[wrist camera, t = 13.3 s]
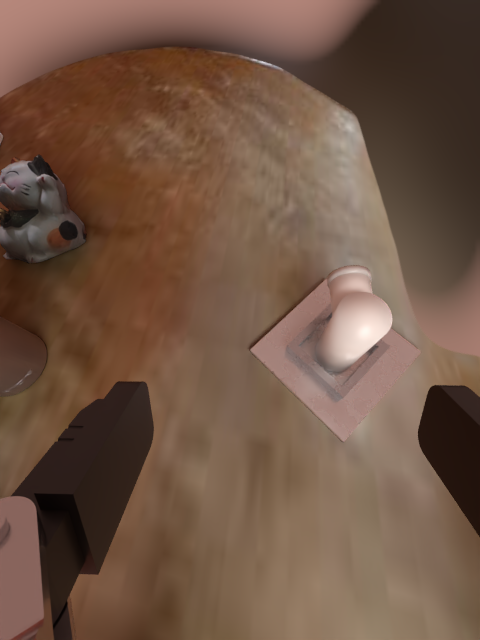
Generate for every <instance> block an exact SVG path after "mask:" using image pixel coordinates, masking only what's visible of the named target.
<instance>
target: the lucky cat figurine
mask: <svg viewBox="0 0 480 640" xmlns="http://www.w3.org/2000/svg"><path fill="white" fill-rule="evenodd" d="M1 172H2V173H1V175H0V202H1V203H2V204H3V205H4V206H5V207H7V208H8V209H9V211H8V212H7V211H5V210H4V209H2V208H0V220H1V221H0V224H1V227H0V244H1V245H2V247H3V248H4V249H5V250H6V253H5V255H3V257H5V258H6V259H17V260H22V261H24V262H27V263H39V262H41V261H45V260H48V259H50V258H53V257H55V256H57V255H60V254H62V253H64V252H66V251H69V250H72V249H75V248H77V247H79V246H80V245H82V244H83V243H85V242H86V239H85V237H86V229H85V226H84V223H83V222H82V221H81V220H80V218H79V217H78V216H77V215H76V213H74V212H73V211H72V210H71V208H70V206H69V204H68V200H67V192H66V189H65V186H64V184H63V183H62V182H61V181H60V179H59V178H58V176H57V175H56V174H54V173H53V171H52V169H51V168H50V166H49V164H48V163H46V162H45V161H44V159H43V158H42V156H41V155H37V156H36V157H34V160H33V161H24V160H20V159H18V158H16V157H13V158H12V162H11V164H10V165H8V166H7V167H6V168H4V169H2V170H1Z"/></svg>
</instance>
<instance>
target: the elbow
mask: <svg viewBox="0 0 480 640" xmlns="http://www.w3.org/2000/svg"><path fill="white" fill-rule="evenodd" d="M327 284H328V288H329V290H330V300H331V309H332V317H331V319H330V321H329V323H328V325H327V326H326V328H325V330H324V332H323V333H322V335H321V337H320V339H319V341H318V342H317V344H316V347H315V355H316V358H317V360H318V362H319V363H320V364H321V365H322V366H323V367H324V368H325V369H327V370H330V371H333V372H341V371H344V370H346V369H348V368H349V367H350V366H351V365H352V364H354V363H355V362H356V361H357V360H358V359H359V358H360V357H361V356H362V355H363V354H365V353H366V352H367V351H368V350H369V349H370V348H371V347H372V346H373V345H374V344H376V343H377V342H378V341H379V340H380V339H381V338H382V337H383V336H384V335H385V334H387V332H388V331H389V330H390V328H391V325H392V314H391V311H390V309H389V307H388V305H387V304H386V303H385V302H384V301H383V300H382V299H381V298H379V297H378V296H376V295H374V294H372V288H371V273H370V270H369V269H368V268H366V267H363V266H358V265H351V266H345V267H341V268H338V269H336V270H334V271H333V272H331V273H330V274H329V275H328V277H327Z"/></svg>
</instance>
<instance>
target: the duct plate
mask: <svg viewBox="0 0 480 640" xmlns="http://www.w3.org/2000/svg"><path fill="white" fill-rule="evenodd" d="M331 317H332V309H331V300H330V290H329V288H328V284H327V279H325V280H324V281H323V282H322V283H321V284H320V285H319V286H318V287H317V288H316V289H315V290H314V291H313V292H312V293H310V294H309V295H308V296H307V297H306V298H305V299H304V300H303V301H302V302H301V303H300V304H299V305H298V306H297V307H295V308H294V309H293V310H292V311H291V312H290V313H289V314H288V315H287V316H286V317H285V318H284V319H283V320H281V321H280V322H279V323H278V324H277V325H276V326H275V327H274V328H273V329H272V330H271V331H270V332H269V333H268V334H266V335H265V336H264V337H263V338H262V339H261V340H260V341H259V342H258V343H257V344H256V345H255V346H254V347H253V348H251V349H250V352H251V353H252V354H253V355H254V356H255V357H256V358H257V359H258V360H259V361H260V362H261V363H262V364H263V365H264V366H265V367H266V368H267V369H268V370H269V371H270V372H271V373H272V374H273V375H274V376H275V377H276V378H277V379H278V380H279V381H280V382H281V383H282V384H283V385H284V386H285V387H286V388H287V389H288V390H289V391H290V392H292V393H293V394H294V395H295V396H296V397H297V398H298V399H299V400H300V401H301V402H302V403H303V404H304V405H305V406H306V407H307V408H308V409H309V410H310V411H311V412H312V413H313V414H314V415H315V416H316V417H317V418H318V419H319V420H320V421H321V422H322V423H323V424H324V425H325V426H326V427H327V428H328V429H329V430H330V431H331V432H332V433H333V434H334V435H335V436H336V437H337V438H338V439H339V440H340V441H341V442H344V441H345V440H346V439H347V438H348V436H349V435H350V434H351V433H352V432H353V431H354V429H355V428H356V427H357V426H358V425H359V424H360V422H361V421H362V420H363V419H364V418H365V417H366V415H367V414H368V413H369V412H370V411H371V410H372V408H373V407H374V406H375V405H376V404H377V403H378V402H379V400H380V399H381V398H382V397H383V396H384V395H385V393H386V392H387V391H388V390H389V389H390V388H391V386H392V385H393V384H394V383H395V382H396V381H397V379H398V378H399V377H400V376H401V375H402V374H403V372H404V371H405V370H406V369H407V368H408V367H409V365H410V364H411V363H412V362H413V361H414V360H415V359H416V357H417V356H418V355H419V354H420V353H421V351H420V350H418V349H417V348H416V347H415V346H413V345H412V344H411V343H409V342H408V341H407V340H406V339H404V338H403V337H402V336H400V335H399V334H398V333H396V332H395V331H394V330H393V329H391V328H390V330H389V331H388V332H387V334H385V335H384V336H383V337H382V338H381V339H380V340H379V341H378V342H377V343H376V344H374V345H373V346H372V347H371V348H370V349H369V350H368V351H367V352H366V353H365V354H363V355H362V356H361V357H360V358H359V359H358V360H357V361H356V362H355V363H354V364H352V365H351V366H350V367H349V368H348V369H346V370H344V371H341V372H333V371H330V370H327V369H325V368H324V367H323V366H322V365H321V364H320V363H319V362H318V360H317V358H316V355H315V347H316V344H317V342H318V341H319V339H320V337H321V335H322V333H323V332H324V330H325V328H326V326H327V325H328V323H329V321H330V319H331Z"/></svg>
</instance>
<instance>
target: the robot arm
mask: <svg viewBox="0 0 480 640" xmlns="http://www.w3.org/2000/svg"><path fill="white" fill-rule="evenodd" d="M46 360H47V349H46V346H45V344H44V342H43V341H42V340H41V339H40V338H39V337H38V336H36V335H34V334H32V333H30V332H29V331H27V330H25V329H23V328H21V327H19V326H18V325H16V324H14V323H12V322H10V321H8V320H6V319H4V318H2V317H1V316H0V396H10V395H15V394H17V393H20V392H22V391H24V390H25V389H27V388H28V387H30V386H31V385H32V384H33V383H34V382H35V381H36V380H37V379H38V377H39V376H40V375H41V373H42V371H43V369H44V367H45V364H46ZM153 431H154V426H153V418H152V412H151V405H150V398H149V392H148V387H147V384H146V383H145V382H120V381H119V382H117V383H116V384H115V385H114V386H113V388H112V389H111V390H110V392H109V393H108V394H107V396H106V397H105V398H104V399H97V400H95V401H94V402H93V403H91V404H90V405H88V406H87V407H85V408H84V409H83V410H81V411H80V412H79V413H78V415H77V416H76V417H75V418H74V419H73V421H72V422H71V423H70V424H69V427H68V429H65V431H64V432H63V433H62V434H61V435H60V437H59V438H58V442H55V443H54V444H53V445H52V447H51V448H50V449H49V450H48V451H47V453H46V454H45V455H44V456H43V458H42V459H41V460H40V461H39V463H38V464H37V465H36V466H35V467H34V469H33V470H32V471H31V472H30V474H29V475H28V476H27V477H26V478H25V480H24V481H23V482H22V483H21V485H20V486H19V487H18V488H17V490H16V491H15V492H14V493H13V494H12V496H11V497H6V498H2V499H0V640H77V639H76V632H75V625H74V618H73V611H72V604H71V599H70V592H71V590H72V588H73V586H74V584H75V582H76V579H77V577H78V575H79V574H96V575H98V574H99V571H100V569H101V566H102V564H103V562H104V559H105V557H106V554H107V552H108V549H109V547H110V545H111V542H112V540H113V537H114V535H115V532H116V530H117V527H118V525H119V523H120V520H121V518H122V515H123V513H124V510H125V508H126V506H127V503H128V501H129V498H130V496H131V493H132V491H133V489H134V486H135V484H136V481H137V479H138V476H139V474H140V472H141V469H142V467H143V464H144V462H145V459H146V457H147V455H148V452H149V450H150V447H151V444H152V440H153ZM418 440H419V444H420V447H421V450H422V452H423V453H424V455H425V457H426V458H427V460H428V461H429V462H430V464H431V465H432V467H433V468H434V470H435V471H436V473H437V474H438V476H439V477H440V479H441V480H442V482H443V483H444V485H445V486H446V488H447V489H448V491H449V492H450V494H451V495H452V497H453V498H454V500H455V501H456V502H457V504H458V505H459V507H460V508H461V510H462V511H463V513H464V514H465V516H466V517H467V519H468V520H469V522H470V523H471V525H472V526H473V528H474V529H475V531H476V532H477V534H478V535H479V537H480V397H479V396H477V395H476V394H475V393H474V392H473V391H472V390H471V389H469V388H468V387H466V386H447V385H434V386H432V387H431V388H430V389H429V391H428V394H427V398H426V402H425V406H424V409H423V413H422V417H421V421H420V425H419V429H418Z"/></svg>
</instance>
